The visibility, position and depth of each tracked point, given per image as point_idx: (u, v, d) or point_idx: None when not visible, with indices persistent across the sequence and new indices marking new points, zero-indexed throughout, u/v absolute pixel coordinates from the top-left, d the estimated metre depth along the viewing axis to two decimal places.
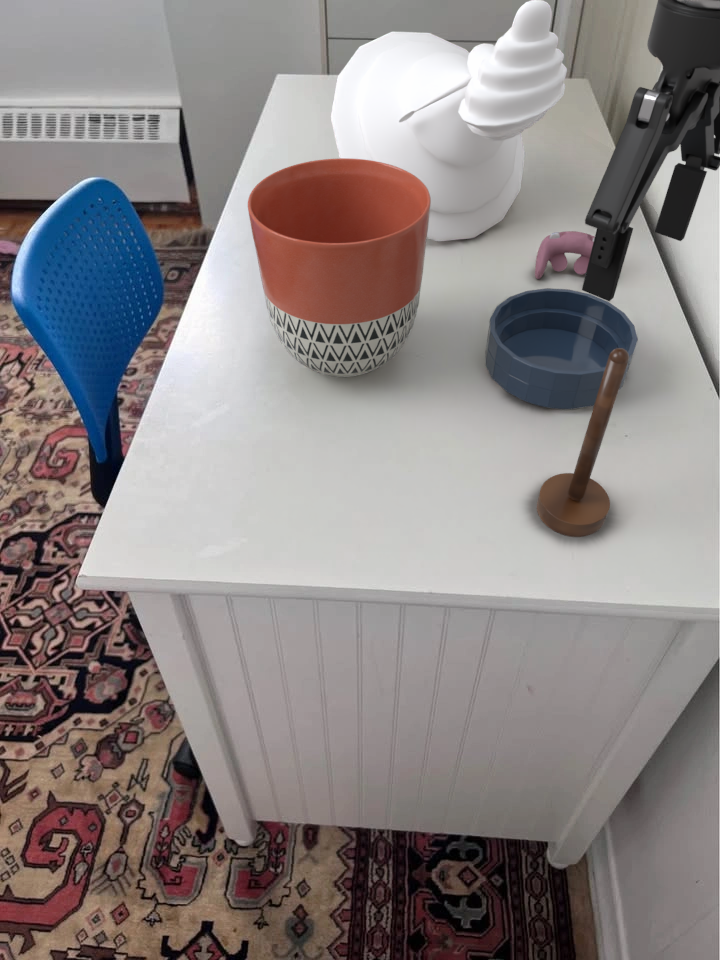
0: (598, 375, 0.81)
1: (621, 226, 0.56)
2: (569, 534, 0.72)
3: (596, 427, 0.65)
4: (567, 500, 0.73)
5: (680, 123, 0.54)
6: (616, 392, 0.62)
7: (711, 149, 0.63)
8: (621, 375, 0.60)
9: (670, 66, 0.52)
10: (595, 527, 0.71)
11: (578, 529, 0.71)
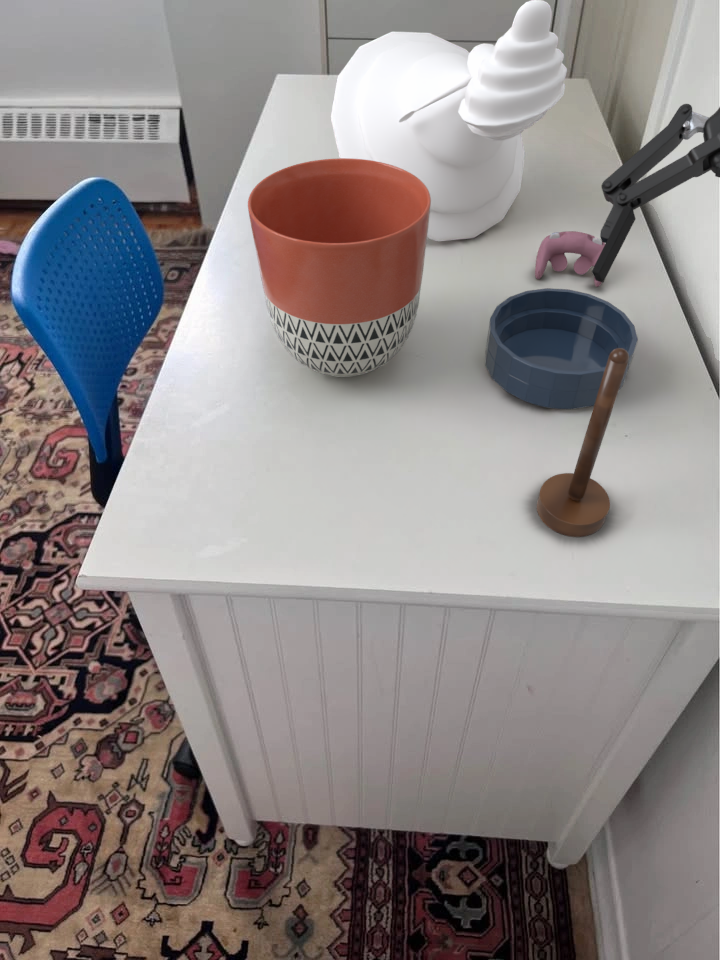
0: (598, 375, 0.81)
1: (617, 194, 0.67)
2: (569, 534, 0.72)
3: (596, 427, 0.65)
4: (567, 500, 0.73)
5: None
6: (616, 392, 0.62)
7: None
8: (621, 375, 0.60)
9: None
10: (595, 527, 0.71)
11: (578, 529, 0.71)
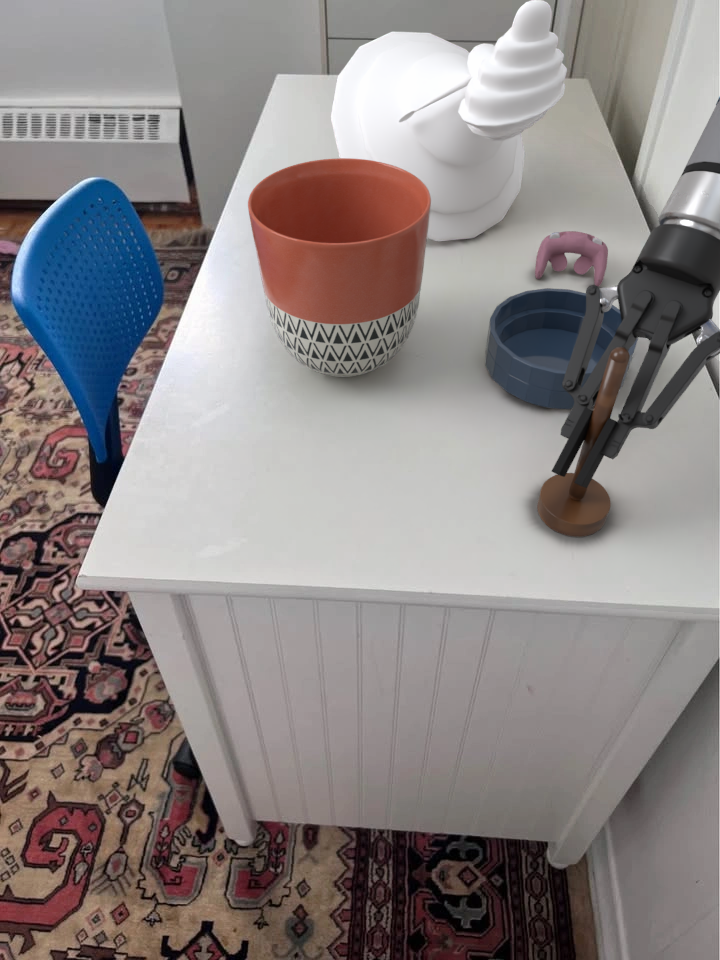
0: None
1: (576, 398, 0.65)
2: (570, 534, 0.72)
3: (597, 426, 0.65)
4: (568, 500, 0.73)
5: None
6: (617, 391, 0.62)
7: (635, 402, 0.63)
8: (622, 374, 0.60)
9: None
10: (596, 526, 0.71)
11: (579, 529, 0.71)
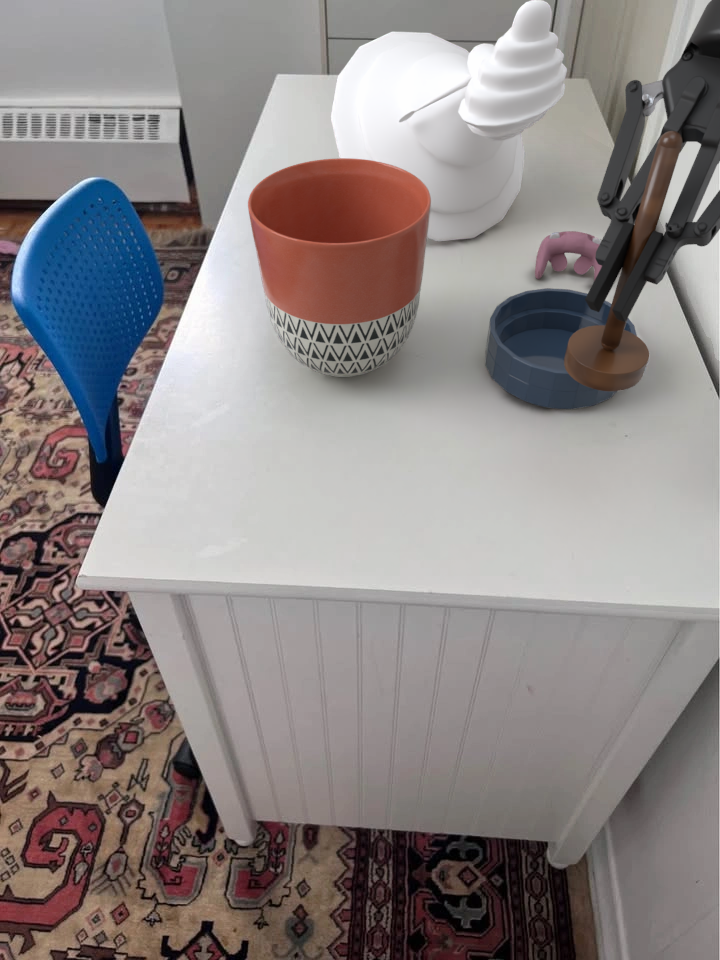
0: None
1: (614, 213, 0.56)
2: (603, 388, 0.62)
3: (639, 243, 0.55)
4: (600, 350, 0.63)
5: None
6: (665, 192, 0.52)
7: (685, 209, 0.54)
8: (672, 167, 0.51)
9: None
10: (633, 378, 0.62)
11: (613, 380, 0.62)
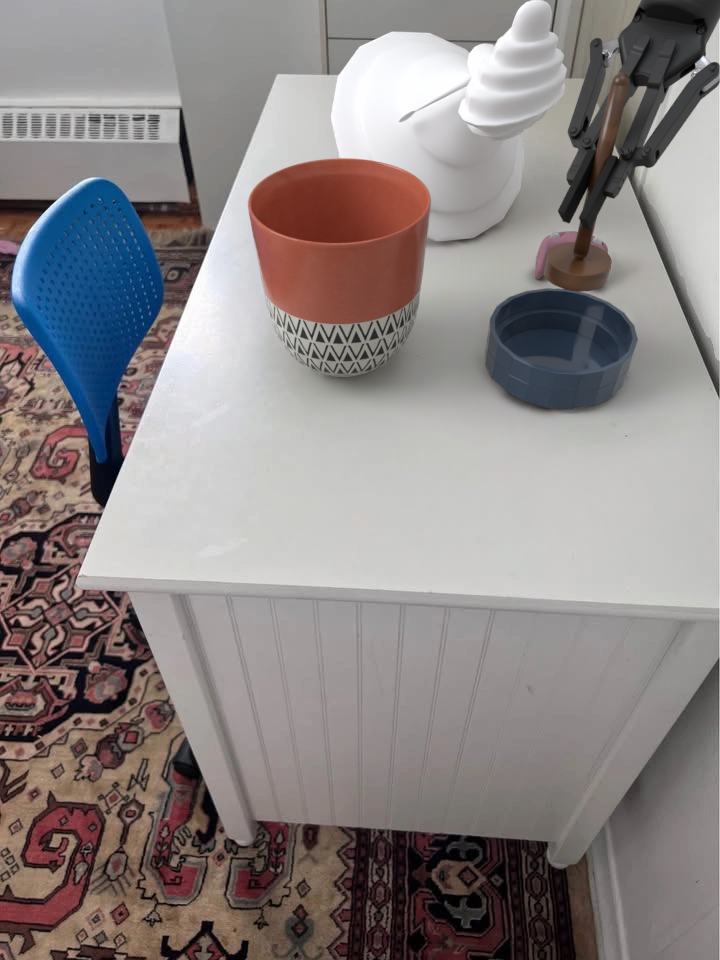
0: (598, 375, 0.81)
1: (581, 142, 0.71)
2: (574, 288, 0.78)
3: (599, 165, 0.71)
4: (572, 259, 0.79)
5: None
6: (618, 122, 0.68)
7: (635, 137, 0.69)
8: (623, 101, 0.66)
9: None
10: (598, 280, 0.77)
11: (582, 281, 0.77)
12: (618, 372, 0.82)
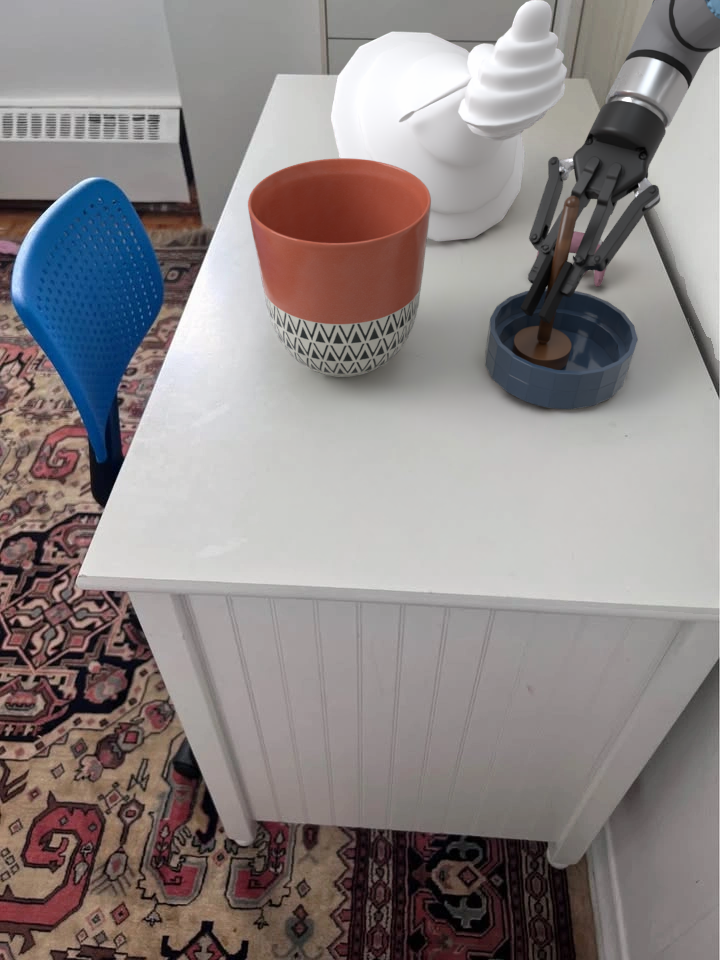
0: (598, 375, 0.81)
1: (540, 248, 0.81)
2: None
3: (556, 269, 0.80)
4: (536, 344, 0.88)
5: None
6: (571, 235, 0.77)
7: (586, 246, 0.79)
8: (574, 219, 0.76)
9: None
10: (559, 363, 0.87)
11: (545, 365, 0.87)
12: (618, 372, 0.82)
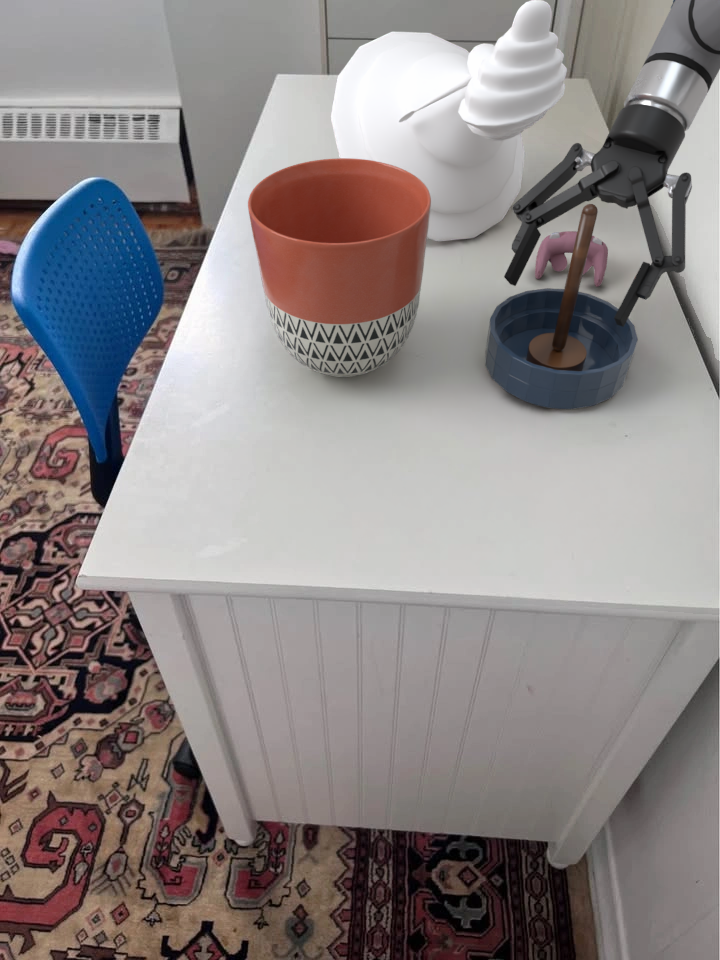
0: (598, 375, 0.81)
1: (524, 215, 0.83)
2: None
3: (573, 276, 0.80)
4: (551, 351, 0.88)
5: None
6: (588, 243, 0.77)
7: (657, 246, 0.76)
8: (592, 227, 0.76)
9: None
10: (574, 370, 0.87)
11: None
12: (618, 372, 0.82)
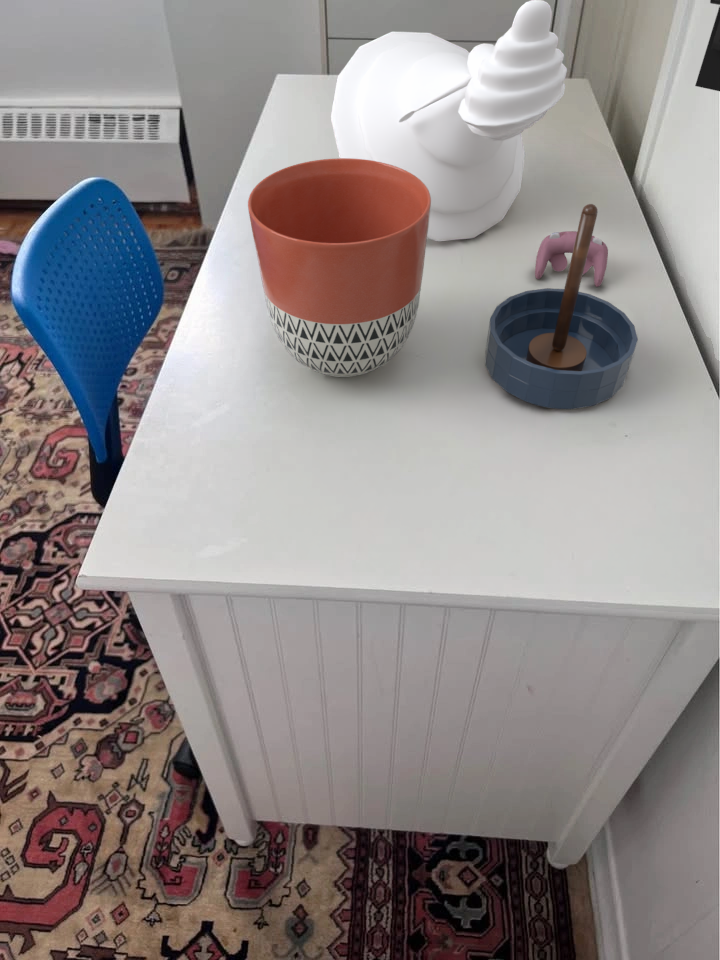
0: (598, 375, 0.81)
1: None
2: None
3: (573, 276, 0.80)
4: (551, 351, 0.88)
5: None
6: (588, 243, 0.77)
7: None
8: (592, 227, 0.76)
9: None
10: (574, 370, 0.87)
11: None
12: (618, 372, 0.82)
